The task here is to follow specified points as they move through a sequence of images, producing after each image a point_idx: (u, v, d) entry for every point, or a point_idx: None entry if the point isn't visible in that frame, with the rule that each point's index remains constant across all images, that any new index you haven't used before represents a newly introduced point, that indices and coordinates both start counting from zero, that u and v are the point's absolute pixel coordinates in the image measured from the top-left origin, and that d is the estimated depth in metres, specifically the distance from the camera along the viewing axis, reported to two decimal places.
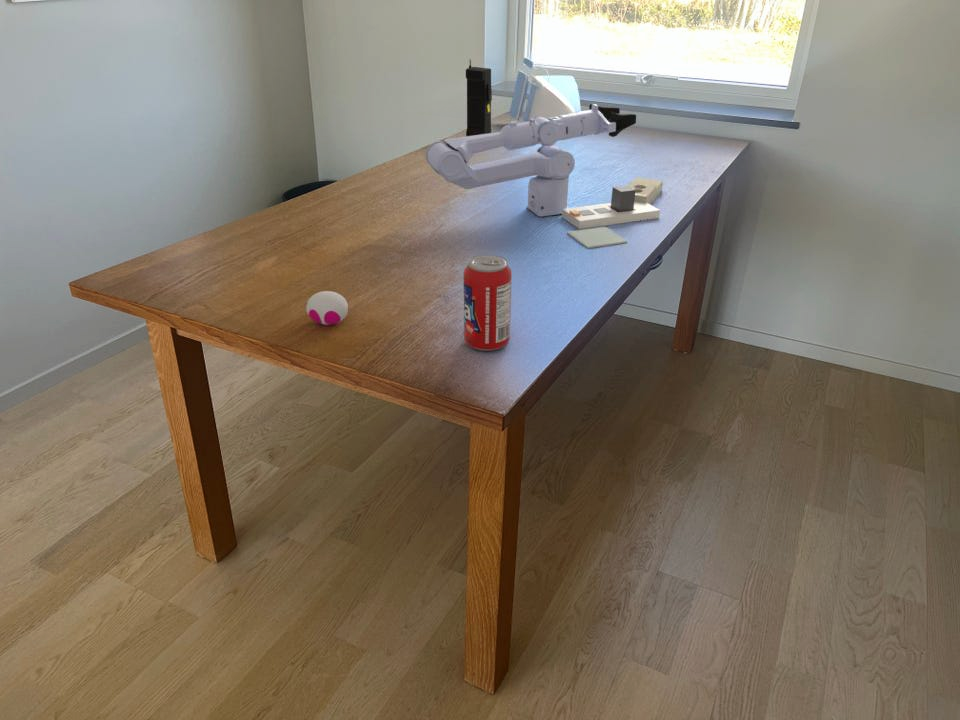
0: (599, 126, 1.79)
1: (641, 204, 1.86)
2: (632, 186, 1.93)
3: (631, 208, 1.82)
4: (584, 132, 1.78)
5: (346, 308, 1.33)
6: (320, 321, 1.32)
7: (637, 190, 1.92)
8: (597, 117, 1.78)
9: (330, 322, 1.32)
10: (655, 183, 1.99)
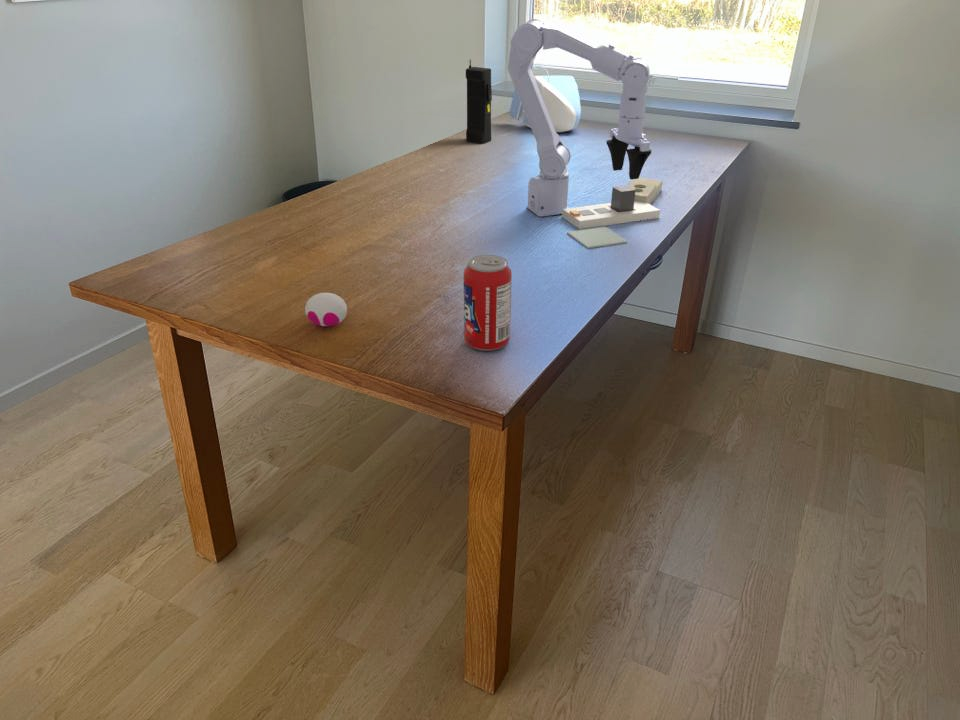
0: (634, 138, 1.72)
1: (641, 204, 1.86)
2: (632, 186, 1.94)
3: (631, 208, 1.82)
4: (631, 121, 1.70)
5: (345, 310, 1.32)
6: (319, 323, 1.32)
7: (637, 190, 1.92)
8: (641, 135, 1.73)
9: (329, 324, 1.32)
10: (655, 183, 1.99)
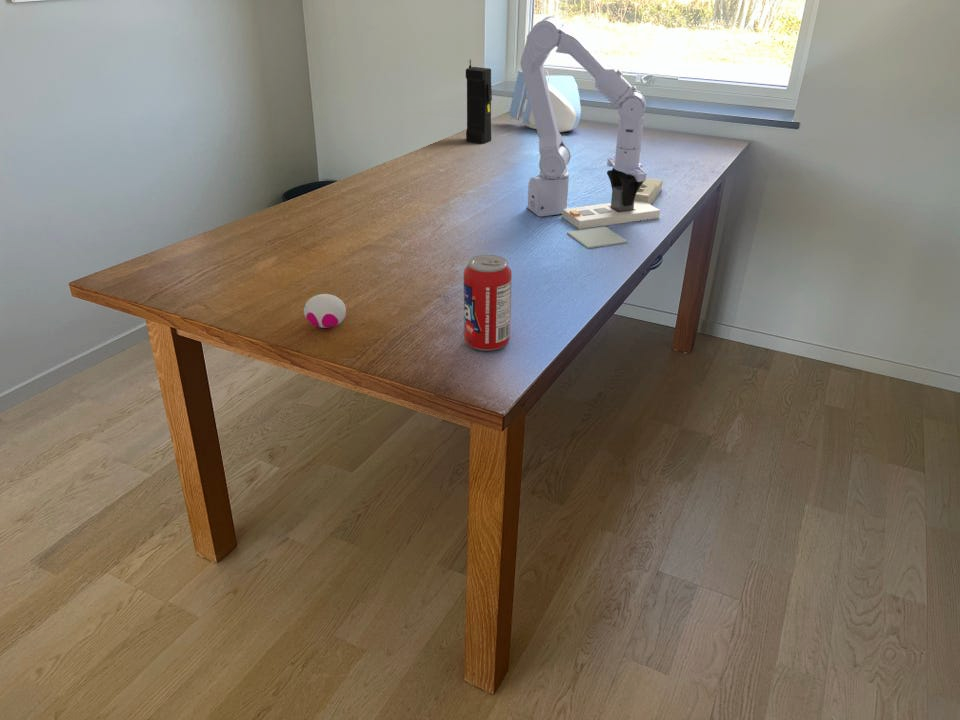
0: (631, 168, 1.76)
1: (641, 204, 1.86)
2: None
3: (631, 208, 1.82)
4: (628, 152, 1.74)
5: (344, 311, 1.32)
6: (318, 324, 1.31)
7: (638, 189, 1.92)
8: (637, 165, 1.77)
9: (328, 325, 1.31)
10: (655, 182, 2.00)
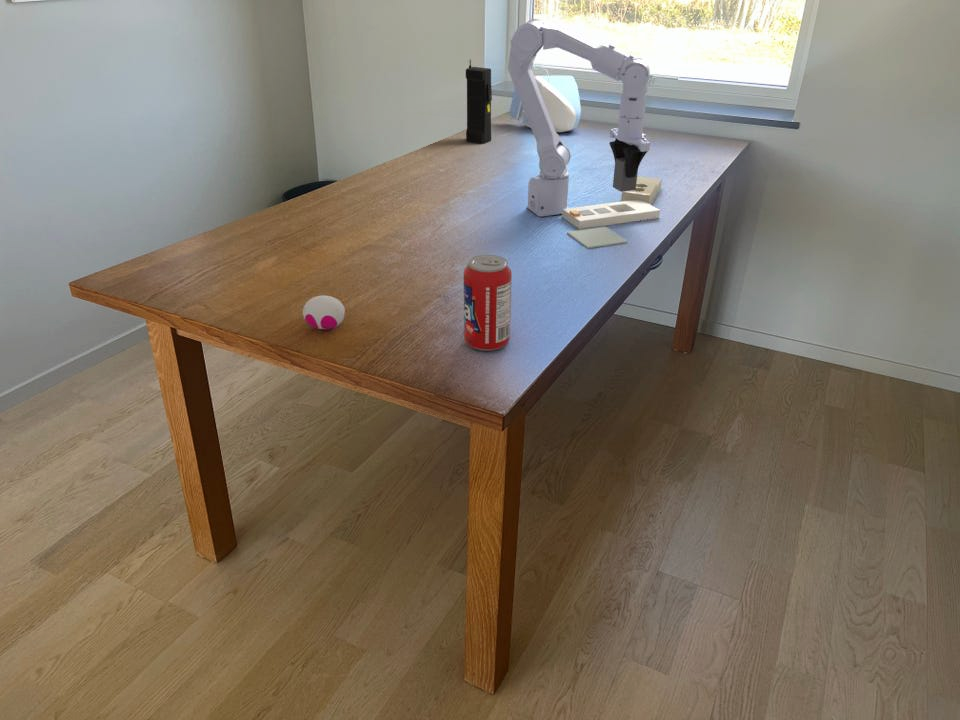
0: (634, 138, 1.72)
1: (641, 204, 1.86)
2: None
3: (634, 180, 1.79)
4: (631, 121, 1.70)
5: (343, 313, 1.31)
6: (316, 326, 1.31)
7: (639, 189, 1.93)
8: (641, 135, 1.73)
9: (327, 327, 1.31)
10: (655, 181, 2.00)
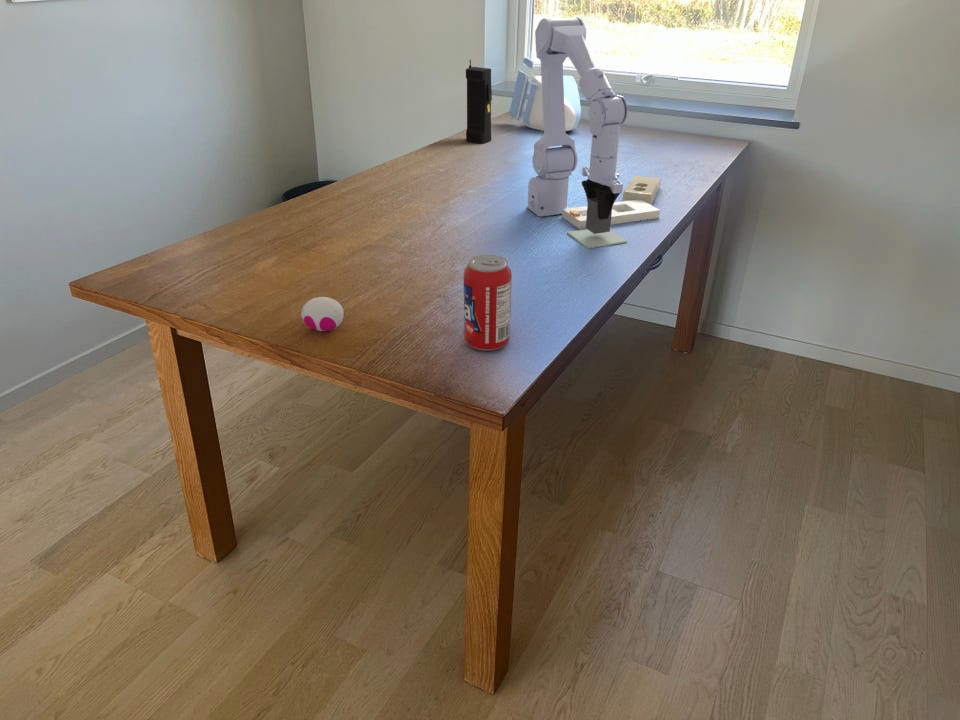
0: (606, 178, 1.62)
1: (641, 204, 1.86)
2: (634, 184, 1.94)
3: (608, 221, 1.68)
4: (603, 161, 1.60)
5: (342, 314, 1.31)
6: (315, 327, 1.30)
7: (639, 188, 1.93)
8: (614, 176, 1.63)
9: (325, 328, 1.30)
10: (654, 181, 2.00)
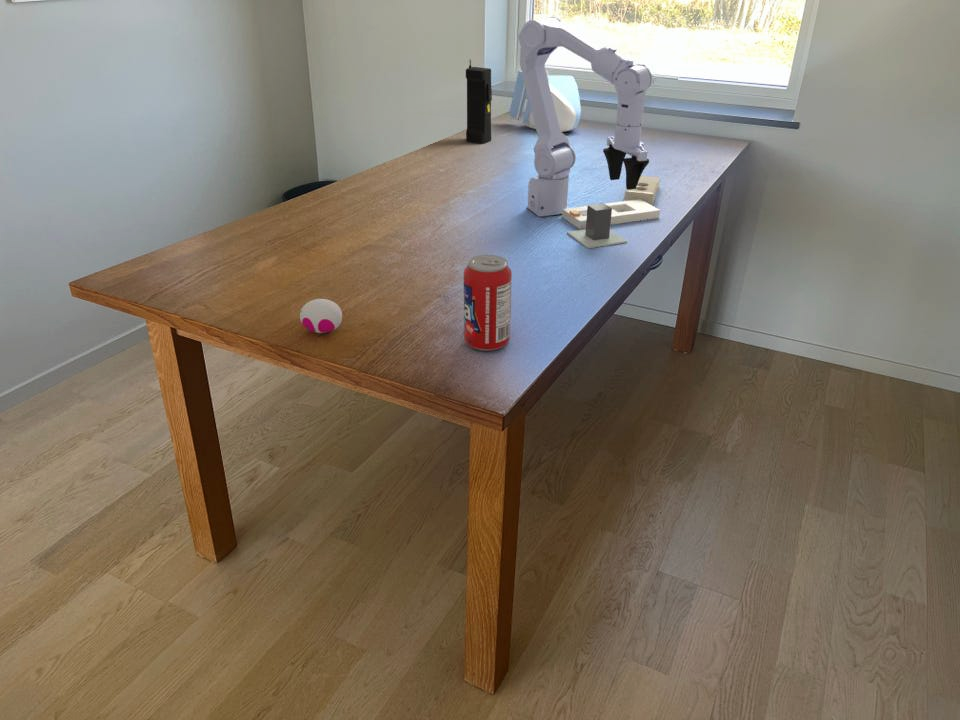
0: (631, 147, 1.65)
1: (641, 204, 1.86)
2: None
3: (607, 228, 1.69)
4: (628, 129, 1.64)
5: (340, 316, 1.30)
6: (314, 329, 1.29)
7: (641, 188, 1.93)
8: (638, 144, 1.66)
9: (324, 330, 1.30)
10: (654, 180, 2.01)
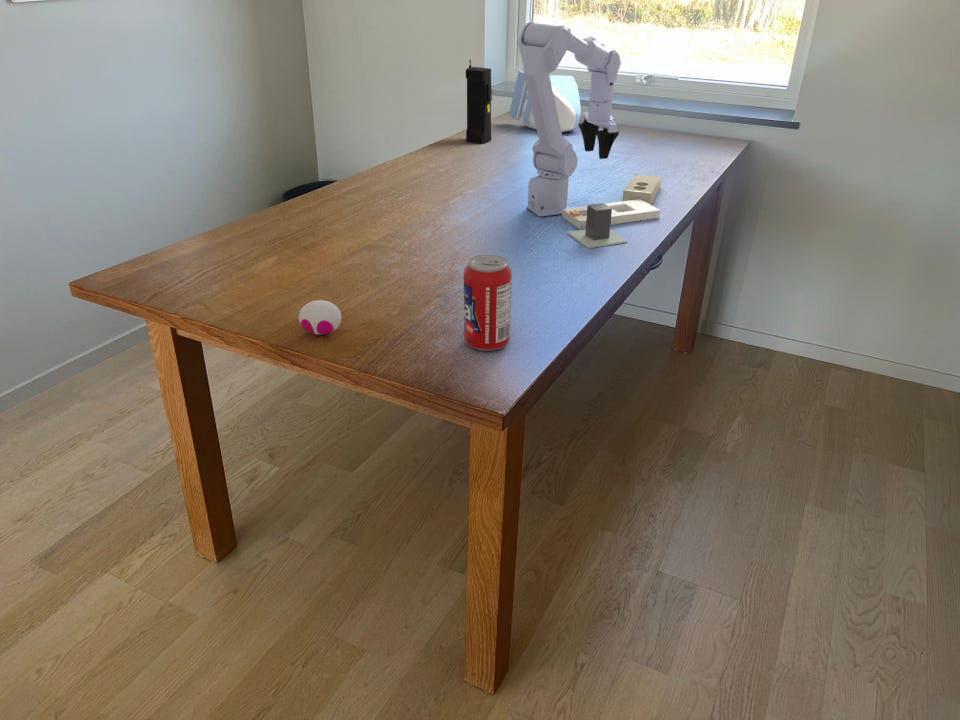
0: (603, 120, 1.87)
1: (641, 204, 1.86)
2: (634, 183, 1.95)
3: (607, 228, 1.69)
4: (600, 105, 1.85)
5: (339, 318, 1.29)
6: (313, 331, 1.29)
7: (640, 187, 1.94)
8: (609, 118, 1.88)
9: (323, 332, 1.29)
10: (655, 180, 2.01)
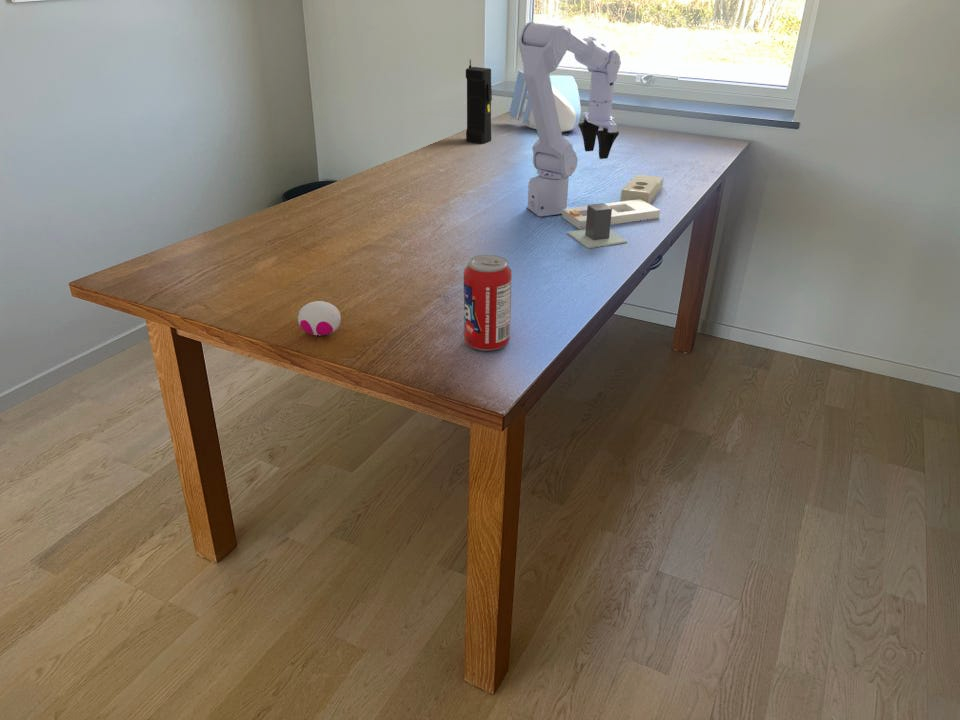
0: (603, 120, 1.87)
1: (641, 204, 1.86)
2: (634, 183, 1.96)
3: (607, 228, 1.69)
4: (600, 105, 1.85)
5: (339, 319, 1.29)
6: (312, 332, 1.29)
7: (639, 187, 1.94)
8: (609, 118, 1.88)
9: (322, 333, 1.29)
10: (656, 180, 2.01)
